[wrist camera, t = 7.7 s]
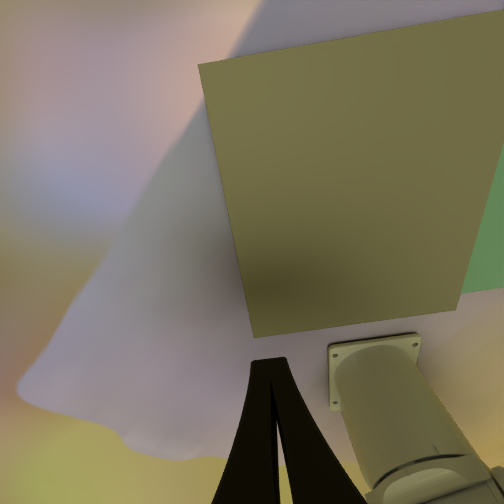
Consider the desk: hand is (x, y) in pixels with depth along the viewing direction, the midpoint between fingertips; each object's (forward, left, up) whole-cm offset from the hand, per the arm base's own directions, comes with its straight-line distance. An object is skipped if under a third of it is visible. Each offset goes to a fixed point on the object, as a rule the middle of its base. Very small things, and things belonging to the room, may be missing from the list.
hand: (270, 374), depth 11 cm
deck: (+3, -6, -9) cm, 12 cm away
